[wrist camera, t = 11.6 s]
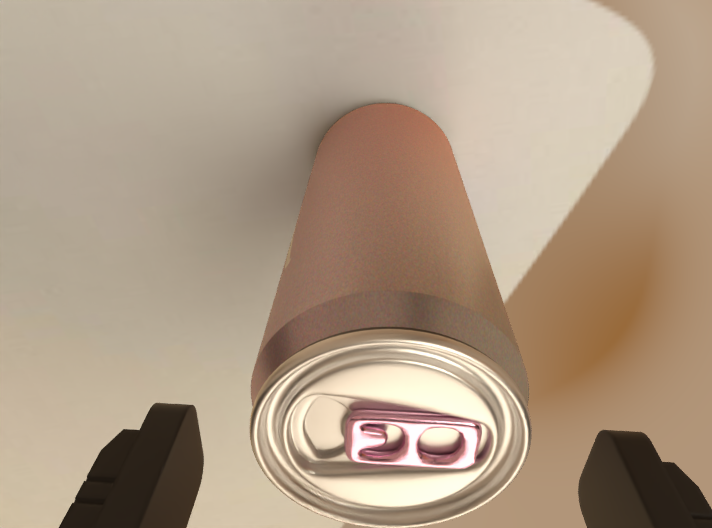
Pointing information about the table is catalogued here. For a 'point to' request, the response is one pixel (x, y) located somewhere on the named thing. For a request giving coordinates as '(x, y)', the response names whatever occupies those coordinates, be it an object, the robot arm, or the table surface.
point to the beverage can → (388, 338)
